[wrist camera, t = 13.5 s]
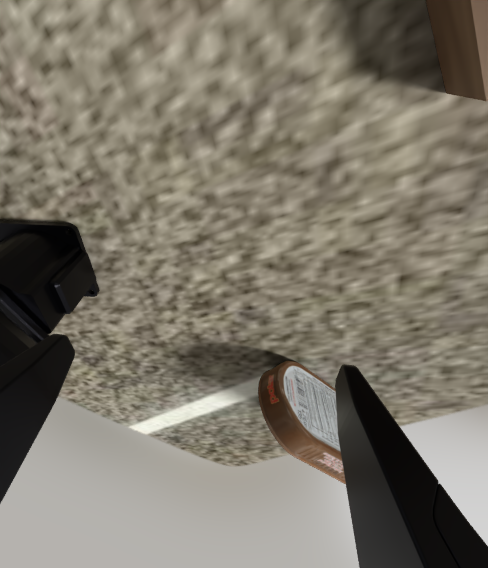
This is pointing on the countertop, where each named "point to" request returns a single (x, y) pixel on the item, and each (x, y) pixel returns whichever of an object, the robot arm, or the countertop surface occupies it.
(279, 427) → the tin
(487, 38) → the walnut socket
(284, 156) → the countertop surface
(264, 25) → the countertop surface
